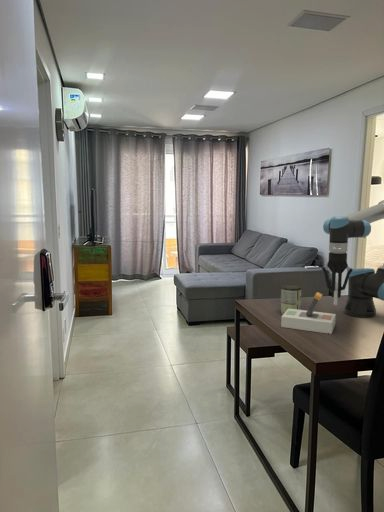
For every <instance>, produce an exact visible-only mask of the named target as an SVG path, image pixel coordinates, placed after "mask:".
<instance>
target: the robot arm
mask: <svg viewBox="0 0 384 512" xmlns="http://www.w3.org/2000/svg"><path fill="white" fill-rule="evenodd" d="M383 219H384V200H380V201H379V202H377V204H375V205H373V206H369V207H367V208H364V209H361V210H357V211H355V212H352V213H349V214H347V215H343V216H332V217H331V218H328V219H326V220H324V223H323V224H322V227H323V228H322V229H323V232H324V233H325V234H327V235H329V245H328V251H329V252H328V262H327V263H326V265H324V266H322V268H321V269H322V272H323V274H324V278H325V283H326V287H327V289H329V290H331V293H330V294H331V297H332V298H333V306H338V304H339V299H340V298H341V296H342V291H344V290H346V288H348V289H347V290H348V291H347V295H348V296H347V299H346V301H345V304H344V306H343V313H344V314H345V315H348V316H351V317H356V318H374V317H375V316H376V315H377V308H376V305H375V303H374V302H375V301H374V298H375V299H378V300H381V301H382V302H384V263H383V265H382V266H379V267H377V269H376V270H375V269H374V268H364V267H363V268H352V267H350V266H349V265H348V253H347V252H348V244H349V241H348V240H349V239H350V238H352V239H353V238H359V239H360V238H365V237H368V236H369V235H370V234H371V232H372V226H371V223H374V222H377V221H381V220H383ZM328 270H329V271H330V272H331V282H330V276H329V272H328ZM345 270H346V275H345V278H344V281H343V284H342V277H343V273H344V272H345ZM336 274H337V276H338V277H336ZM336 278H337V289H336ZM347 285H348V287H347Z"/></svg>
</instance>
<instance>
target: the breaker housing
mask: <svg viewBox="0 0 384 512" xmlns="http://www.w3.org/2000/svg"><path fill="white" fill-rule="evenodd" d="M307 311H308V310H304V309H301V310H297V309H288V310H287V311H286V312H285V313H284V314H282V316H280V317H281V321H280V325H281V326H280V327H281V328H286V329H293V330H301V331H309V332H315V333H323V334H328V333H329V335H332V334H333V331H334V329H335V326H336V318H337V315H336V313H329V312H321V311H314V312H313V313H312V315H311V316H307V315H306V312H307Z"/></svg>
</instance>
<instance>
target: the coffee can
mask: <svg viewBox="0 0 384 512" xmlns="http://www.w3.org/2000/svg"><path fill="white" fill-rule="evenodd" d="M280 286H281V287H280V289H281V290H280V313H281V314H282V315H283V314H284V313H285V312H286V311H287V310H288V309H297V310H302V287H303V286H302V285H299V284H295V283H287V284H286V283H285V284H282V285H280Z"/></svg>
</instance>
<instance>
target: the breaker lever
mask: <svg viewBox="0 0 384 512" xmlns="http://www.w3.org/2000/svg"><path fill="white" fill-rule="evenodd" d="M322 297H323V293H321V292H319V291H317V292H316V293H315V294H314V296H313V300H312V301H311V303H310V306H309V307H308V310H306V311H307V312H306V315H307V316H311V315H312V313H313V312H315V311H314V310H315V309H316V307H317V304H318V303H319V301H320V300H321V298H322Z"/></svg>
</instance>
